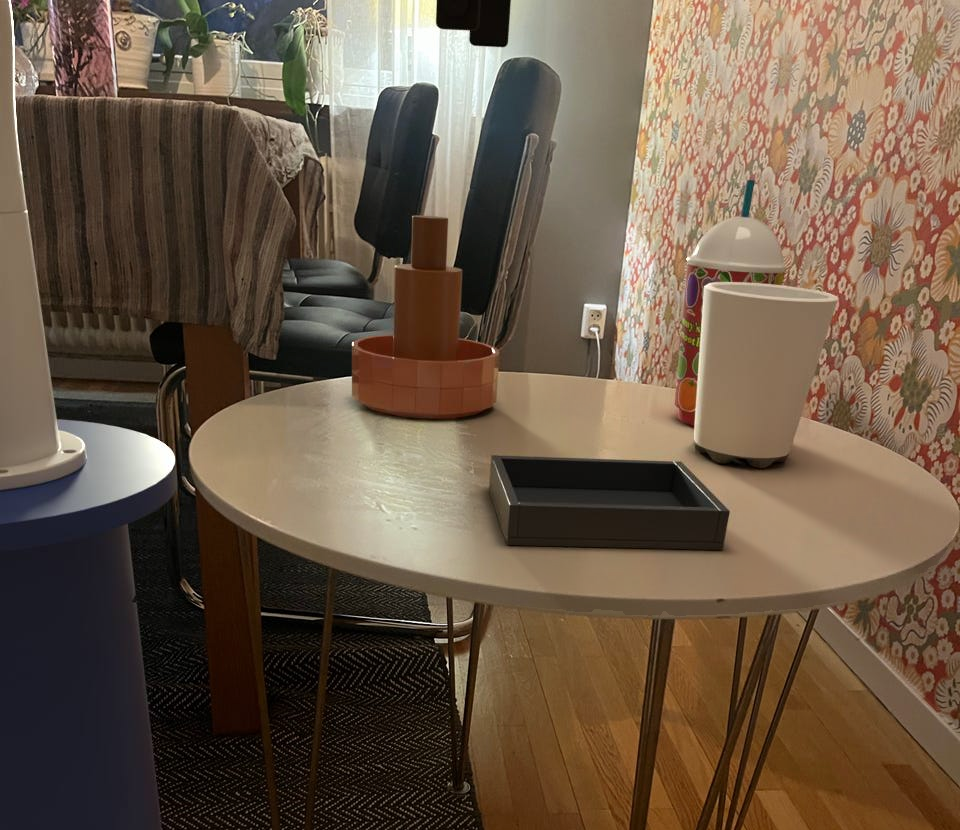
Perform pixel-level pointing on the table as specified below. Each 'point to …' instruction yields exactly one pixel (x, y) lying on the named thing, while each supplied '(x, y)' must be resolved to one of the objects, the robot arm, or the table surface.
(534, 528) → the tray
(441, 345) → the bottle
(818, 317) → the cup
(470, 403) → the bowl
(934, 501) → the table surface
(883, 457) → the table surface
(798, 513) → the table surface
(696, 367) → the smoothie
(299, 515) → the table surface
